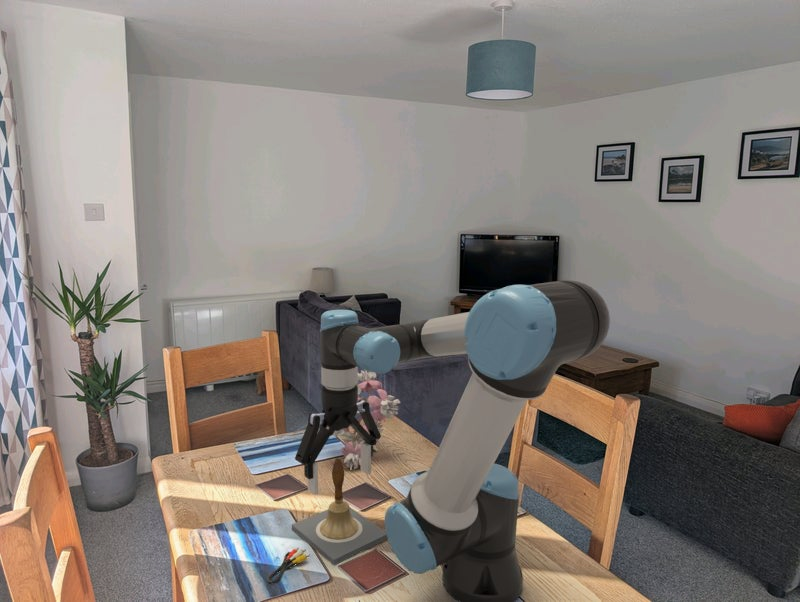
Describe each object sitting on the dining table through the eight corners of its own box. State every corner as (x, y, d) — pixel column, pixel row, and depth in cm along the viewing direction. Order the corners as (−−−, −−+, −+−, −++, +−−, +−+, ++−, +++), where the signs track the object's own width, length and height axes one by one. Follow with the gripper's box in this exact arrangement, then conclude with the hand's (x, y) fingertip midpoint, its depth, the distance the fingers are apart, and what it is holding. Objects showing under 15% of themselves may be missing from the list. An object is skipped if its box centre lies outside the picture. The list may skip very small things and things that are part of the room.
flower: (293, 447, 161) (312, 382, 148) (350, 417, 177) (371, 357, 164) (339, 497, 151) (363, 432, 139) (394, 461, 168) (421, 400, 155)
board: (387, 538, 121) (387, 533, 121) (333, 565, 112) (333, 559, 112) (343, 507, 133) (343, 502, 133) (291, 529, 124) (291, 523, 124)
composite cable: (273, 587, 106) (273, 575, 106) (256, 576, 109) (256, 565, 108) (311, 561, 114) (311, 550, 113) (295, 552, 117) (295, 541, 116)
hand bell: (337, 544, 117) (337, 472, 114) (311, 528, 122) (311, 459, 119) (366, 528, 123) (366, 459, 120) (341, 513, 128) (340, 447, 125)
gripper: (375, 370, 127) (375, 458, 131) (276, 393, 111) (279, 493, 115) (397, 377, 122) (396, 470, 125) (296, 403, 106) (298, 508, 109)
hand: (340, 481), depth 120 cm, fingers open, 13 cm apart
